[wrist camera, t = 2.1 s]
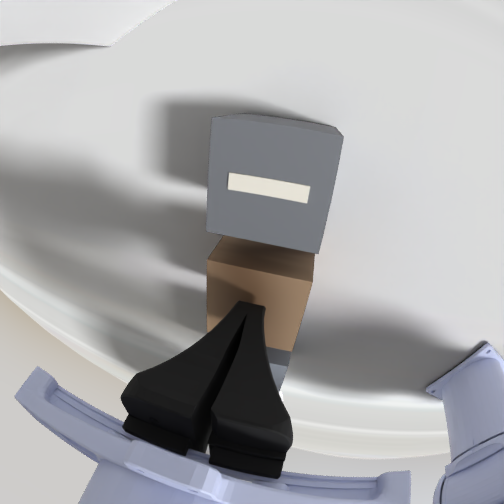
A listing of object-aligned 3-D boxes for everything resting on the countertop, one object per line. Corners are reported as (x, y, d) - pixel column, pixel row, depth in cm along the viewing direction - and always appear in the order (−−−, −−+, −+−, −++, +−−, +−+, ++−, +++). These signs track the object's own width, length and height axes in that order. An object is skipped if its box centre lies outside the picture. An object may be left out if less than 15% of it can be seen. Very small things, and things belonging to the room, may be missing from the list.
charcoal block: (335, 127, 13) (344, 136, 9) (319, 211, 16) (318, 255, 12) (241, 112, 14) (207, 117, 10) (234, 195, 17) (202, 231, 12)
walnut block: (315, 234, 17) (312, 282, 12) (300, 297, 19) (291, 351, 15) (235, 218, 17) (206, 259, 13) (230, 282, 20) (206, 331, 16)
